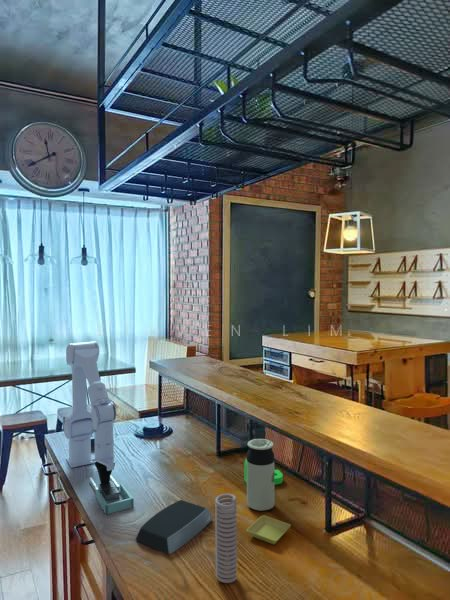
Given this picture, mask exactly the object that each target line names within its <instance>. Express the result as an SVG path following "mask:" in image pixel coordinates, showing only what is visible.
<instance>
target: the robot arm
mask: <svg viewBox="0 0 450 600" xmlns="http://www.w3.org/2000/svg"><path fill="white" fill-rule="evenodd" d="M65 353H66V354H65V357H66V358H65V359H66V365H68V366H71V383H72V384H71V385H72V386H71V387H72V388H71V389H72V390H71V392H72V394H71V395H72V410H71V411H70V412H69V413H68V414H67V415H65V417H64V423H63V424H64V425H63V434H64V437H65V439H67V440H68V456H66V458H65V459H66V461H67V463H68V464H69V465H68V466H69V467H70V468H76V467H81V466H86V465H90V464H94V466H95V468H96V470H97V474H98V478H99V482H100V483H99V484H102V483H107V482H111V481H110V476H111V475H112V471H114V470H115V466H116V463H115V462H114V461H115V453H114V452H115V451H114V422H115V421H116V418H117V409H116V405H115V404H114V401H112V399H110V397H109V394H108V390H107V388H106V384H105V383H103V382H102V381H101V379H100V373H99V368H98V360H99V355H100V345H99V343H98V342H97V341H96V340H93V341H86V342H85V341H84V342H74V343H72V342H69V343H68V344H67V345H66V348H65ZM87 382H88V383H87ZM87 384H88V387H87ZM87 396H88V398H87ZM88 399H89V403H90V406H91V410H89V409H88ZM93 434H94V435H93ZM93 436H94V456H92V447H91V446H92V444H91V441H92V439H91V438H92V437H93Z"/></svg>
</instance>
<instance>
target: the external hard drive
mask: <svg viewBox="0 0 450 600" xmlns="http://www.w3.org/2000/svg"><path fill="white" fill-rule="evenodd" d="M212 520H213V517H212V514H211V511H210V510H209V508H207V507H204V506H201V505H198V504H194V503H192V502H189V501H185V500H183V499H179V500H177V501H175V502H173V503H171V504H170V505H168V506H166V507H164V508H163V509H161V510H160V511H159V512H157V513H155V514H154V515H153V516H151V517H150V518H149V519H147V521H146V522H145V523H144V524H143V525H141V527H140V529H139V531H138V533H137V535H136V539H135V541H136V542H139V543H141V544H143V545H145V546H148V547H150V548H153V549H155V550H157V551H160V552H163V553H165V554H167V555H171V554H173V553H175V552H176V551H177V550H179V549H180V548H181V547H183V546H184V545H186V544H187V543H188V542H189V541H191V540H192V539H193V538H194V537H196V536H197V535H198V534H199V533H201V531H203V530H204V529H205V528H206V527H207V525H209V524H210V523H211V521H212Z"/></svg>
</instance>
